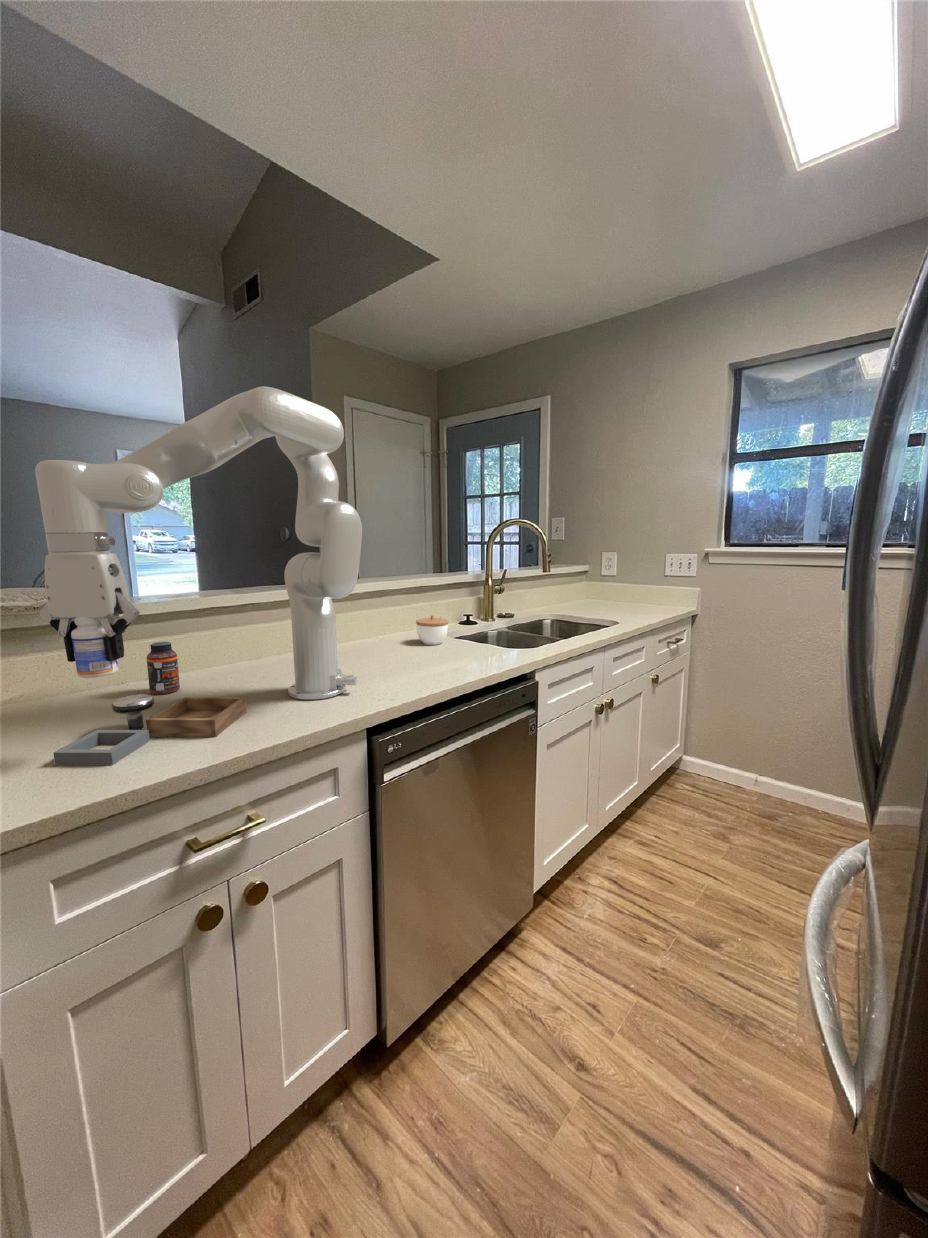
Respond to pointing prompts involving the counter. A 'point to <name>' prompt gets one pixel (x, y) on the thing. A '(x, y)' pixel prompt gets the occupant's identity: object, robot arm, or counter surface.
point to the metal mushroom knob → (133, 709)
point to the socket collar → (85, 755)
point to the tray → (196, 717)
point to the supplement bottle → (162, 669)
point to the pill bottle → (91, 649)
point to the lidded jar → (432, 630)
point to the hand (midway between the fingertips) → (96, 658)
